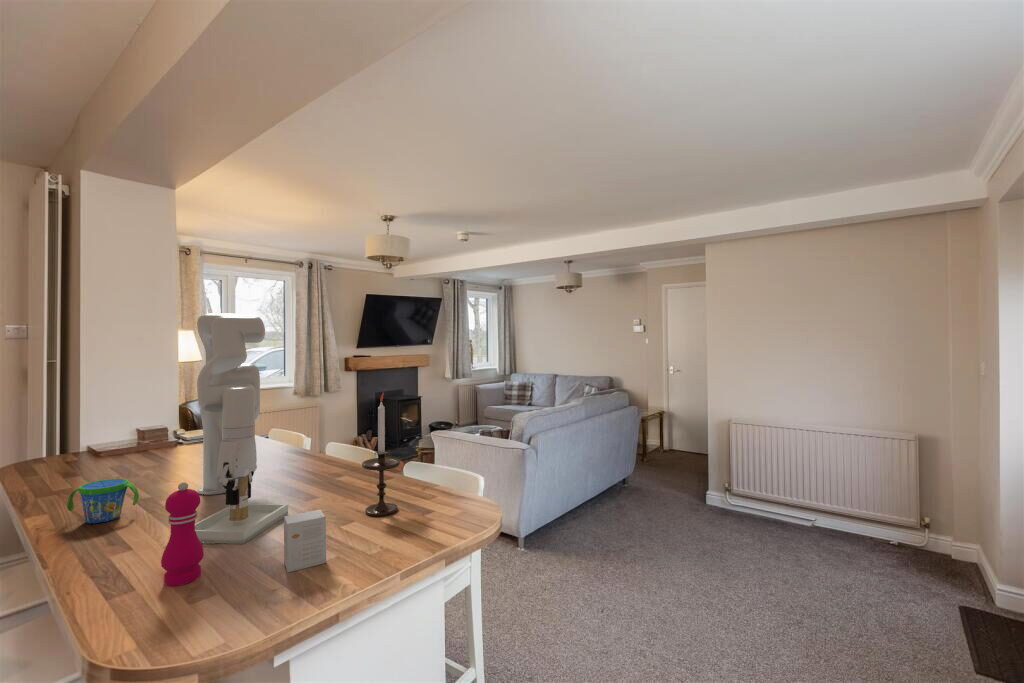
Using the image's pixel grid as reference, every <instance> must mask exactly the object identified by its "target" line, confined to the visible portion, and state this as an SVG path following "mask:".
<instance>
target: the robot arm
mask: <svg viewBox="0 0 1024 683" xmlns="http://www.w3.org/2000/svg"><path fill="white" fill-rule="evenodd" d="M196 326H197V328H196V329H197V332H198V333H197V334H198V335H199V338H200V340H201V343H202V345H203V346H204V352H205V365H204V366H203V367H202V368H201V369H200V371H199V374H198V377H197V381H196V389H197V390H196V391H197V404H198V407H199V410H200V411H199V412H200V418H201V423H202V436H203V438H202V440H203V442H202V445H203V447H202V448H203V450H202V451H203V452H202V454H203V456H202V458H203V460H202V461H203V462H202V463H203V464H202V466H203V468H202V470H203V472H202V481H203V482H202V483H203V484H202V485H201V486H200V487H198V488H197V492H198V494H199V495H203V494H204V495H203V496H209V495H210V496H213V495H221V494H225V505H226V506H229V505H238V504H239V489H237V485H238V478H239V477H241V476H242V475H244V472H245V470H246V469H248V470H249V474H248V500H249V499H251V498H252V482H253V476H254V475H255V472H256V471H257V468H258V465H257V461H258V460H257V445H256V443H257V442H256V438H255V437H256V420H257V419H258V418H259V416H260V410H261V402H260V401H261V376H260V370H259V368H258V367H257V365H255V364H253V363H246V360H247V359H248V358H247V357H248V355H247V348H246V343H248V344H252V343H253V344H254V343H255V344H256V343H257V344H258V343H262V342H263V340H264V339H265V336H266V326H265V323H264V321H263V319H262V318H261V317H260V316H258V315H255V314H247V313H246V314H244V313H242V314H240V313H221V312H220V313H216V312H215V313H205V314H202V315H200V316H199V317H198V318H197V322H196ZM230 475H232V476H231V477H230ZM230 480H233V483H232V482H231V481H230Z"/></svg>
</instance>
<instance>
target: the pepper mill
mask: <svg viewBox="0 0 1024 683" xmlns="http://www.w3.org/2000/svg"><path fill="white" fill-rule="evenodd" d="M177 489H178V490H174V492H172V493H171V494H169V495H168V496H167V497H166V500H165V505H164V507H165V511H166V512H168V514H169V515H168V516H167V518H168V520H167V523H168V524H170V535H169V538H168V542H167V544H166V546H165V548H164V551H163V553H162V555H161V562H160V563H161V564H160V565H161V567H162V569H163V570H165V571H166V572H164V575H163V583H164V585H165V586H167V587H179V586H182V585H186V584H189V583H192V582H194V581H196V580H198V579H199V578H200V576H201V574H202V566H201V564H200V563H201V561H202V560H203V558H204V554H205V552H204V547H203V543H201V542H200V540H199V538H198V536H197V534H196V531H195V523H196V520H197V519H198V510H197V508H199V506H200V504H201V494H199V493H198V490H195V489H192V488H189V484H188V483H187V482H186V481H184V482H180V483H179V484H178V485H177Z"/></svg>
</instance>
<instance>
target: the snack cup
mask: <svg viewBox="0 0 1024 683" xmlns="http://www.w3.org/2000/svg"><path fill="white" fill-rule="evenodd" d="M128 488H129V490H131V492H133V502H132V506H135V505H137V503H138V501H139V491H138V488H137V487H136V485H135V484H134V483H131V482H129V480H128V479H127V478H108V479H107V478H106V479H100V480H94V481H91V482H86V483H83V484H81V485H79V486H78V488H75V489H74V490H73V491H71V492H70V493H69V495H68V497H67V501H66V508H67V511H69V512H73V510H74V509H75V504H74V501H73V498H74V496H75V493H76V492H78V493H79V495H80V500H81V507H82V512H83V518H84V521H85V522H86V523H87V524H89V525H90V524H91V523H92V524H99V523H107V522H109V521H110V520H111V521H114V520H116V519H119V518H120V517H121V515H122V511H123V507H124V506H123V505H124V503H125V502H124V501H125V496H126V492H127V490H128ZM111 521H110V522H111Z"/></svg>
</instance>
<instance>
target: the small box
mask: <svg viewBox="0 0 1024 683" xmlns="http://www.w3.org/2000/svg"><path fill="white" fill-rule="evenodd" d="M326 528H327V520H326V516H325V514H324V512H323V511H322V509H316V510H311V511H305V512H300V513H295V514H291V515H289V514H288V515H287V516H284V518H283V551H284V552H283V557H284V558H283V563H284V566H285V569H286V573H292V572H295V571H300V570H303V569H308V568H312V567H316V566H319V565H323V564H326V563H327V539H326V538H327V536H326V535H327V533H326V532H327V529H326Z"/></svg>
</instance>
